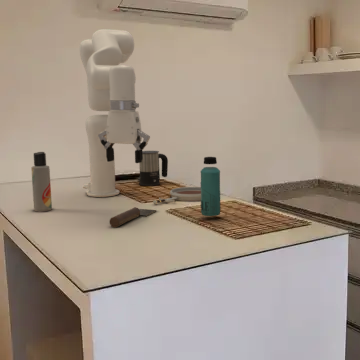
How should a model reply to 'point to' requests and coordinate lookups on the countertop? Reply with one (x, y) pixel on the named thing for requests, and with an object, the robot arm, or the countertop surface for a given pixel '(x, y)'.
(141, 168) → the milk frother
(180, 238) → the countertop surface
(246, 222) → the countertop surface
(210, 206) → the beverage bottle
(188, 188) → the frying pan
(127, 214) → the spatula
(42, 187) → the lotion bottle
